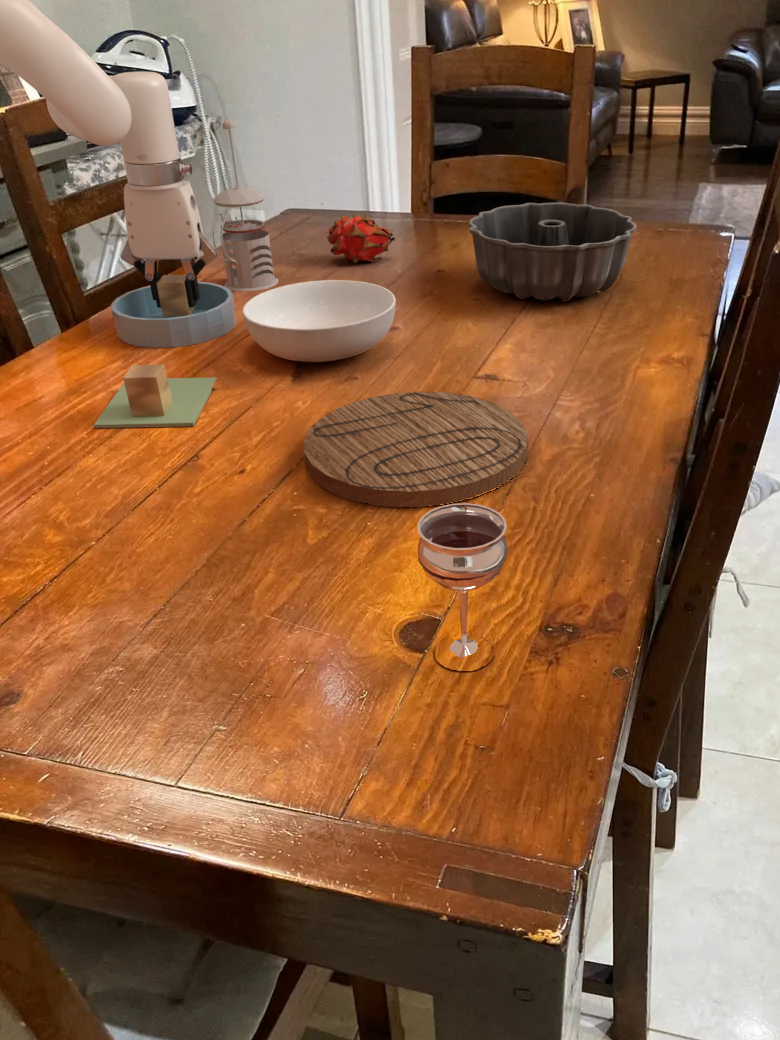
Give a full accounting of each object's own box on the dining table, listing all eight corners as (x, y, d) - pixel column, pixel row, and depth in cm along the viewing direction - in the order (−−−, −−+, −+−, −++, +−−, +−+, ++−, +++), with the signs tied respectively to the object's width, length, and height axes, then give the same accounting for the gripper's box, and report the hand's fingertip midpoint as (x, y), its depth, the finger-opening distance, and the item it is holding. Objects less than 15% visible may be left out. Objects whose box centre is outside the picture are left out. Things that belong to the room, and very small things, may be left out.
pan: (103, 352, 133) (95, 321, 130) (136, 311, 147) (130, 282, 144) (224, 349, 133) (219, 318, 130) (246, 309, 147) (242, 280, 144)
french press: (292, 280, 158) (273, 116, 144) (250, 301, 150) (225, 128, 135) (246, 273, 162) (222, 113, 147) (202, 293, 154) (173, 125, 139)
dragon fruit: (325, 269, 168) (391, 276, 170) (324, 251, 160) (394, 259, 161) (328, 223, 168) (394, 230, 170) (327, 202, 160) (397, 210, 161)
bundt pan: (665, 289, 150) (673, 224, 144) (537, 324, 138) (539, 255, 132) (559, 253, 168) (562, 194, 162) (438, 281, 156) (436, 219, 150)
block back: (162, 316, 140) (156, 282, 137) (169, 308, 143) (163, 274, 140) (189, 316, 140) (183, 282, 137) (195, 307, 143) (189, 274, 140)
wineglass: (486, 688, 72) (486, 558, 65) (408, 666, 75) (400, 538, 68) (518, 638, 77) (521, 513, 70) (444, 619, 79) (440, 496, 72)
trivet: (272, 436, 109) (270, 421, 108) (457, 390, 119) (457, 376, 118) (362, 532, 91) (361, 515, 90) (572, 468, 101) (573, 452, 100)
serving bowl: (318, 316, 143) (313, 270, 139) (427, 342, 133) (426, 293, 129) (217, 359, 130) (208, 310, 126) (331, 391, 119) (325, 339, 115)
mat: (94, 428, 112) (93, 424, 112) (127, 382, 124) (126, 379, 123) (193, 426, 112) (193, 422, 112) (217, 380, 123) (217, 377, 123)
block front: (132, 416, 113) (122, 377, 111) (141, 403, 117) (132, 365, 114) (164, 416, 113) (156, 377, 110) (172, 402, 117) (164, 364, 114)
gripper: (219, 167, 133) (237, 296, 144) (102, 169, 133) (129, 297, 144) (208, 178, 127) (228, 312, 138) (86, 180, 127) (115, 313, 138)
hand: (177, 303), depth 141 cm, fingers closed on block back, 4 cm apart
